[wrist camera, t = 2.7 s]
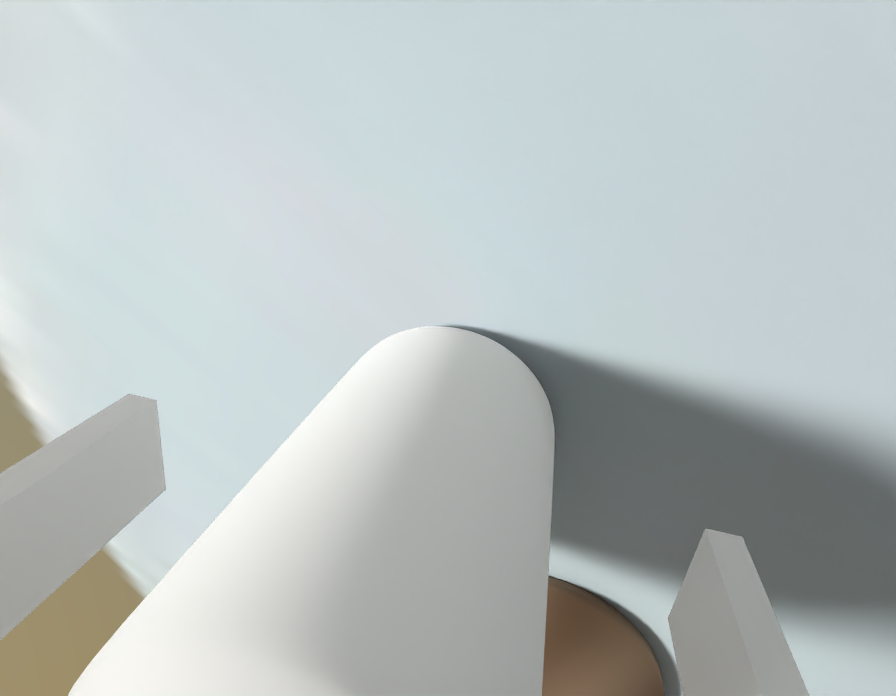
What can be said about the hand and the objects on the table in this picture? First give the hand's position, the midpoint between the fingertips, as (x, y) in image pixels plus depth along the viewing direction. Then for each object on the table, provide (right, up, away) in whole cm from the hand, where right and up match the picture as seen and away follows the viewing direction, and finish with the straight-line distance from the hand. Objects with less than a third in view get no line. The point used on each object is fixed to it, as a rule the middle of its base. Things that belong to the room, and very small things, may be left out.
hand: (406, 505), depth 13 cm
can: (+1, +2, +4) cm, 4 cm away
